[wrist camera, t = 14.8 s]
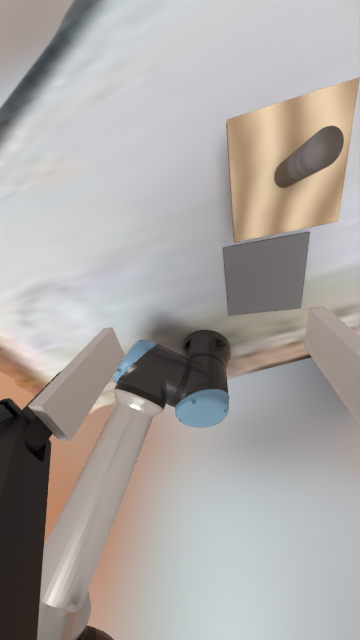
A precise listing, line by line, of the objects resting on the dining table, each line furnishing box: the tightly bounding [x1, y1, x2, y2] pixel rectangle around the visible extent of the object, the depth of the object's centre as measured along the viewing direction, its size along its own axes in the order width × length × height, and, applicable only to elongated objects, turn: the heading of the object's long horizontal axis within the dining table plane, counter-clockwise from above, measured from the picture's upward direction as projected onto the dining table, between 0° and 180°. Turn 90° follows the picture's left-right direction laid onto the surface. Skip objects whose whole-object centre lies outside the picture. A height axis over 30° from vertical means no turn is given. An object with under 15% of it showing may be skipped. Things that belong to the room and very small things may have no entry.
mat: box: [223, 232, 310, 315], centre depth 45 cm, size 18×18×1 cm
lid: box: [226, 77, 360, 242], centre depth 22 cm, size 15×15×10 cm
